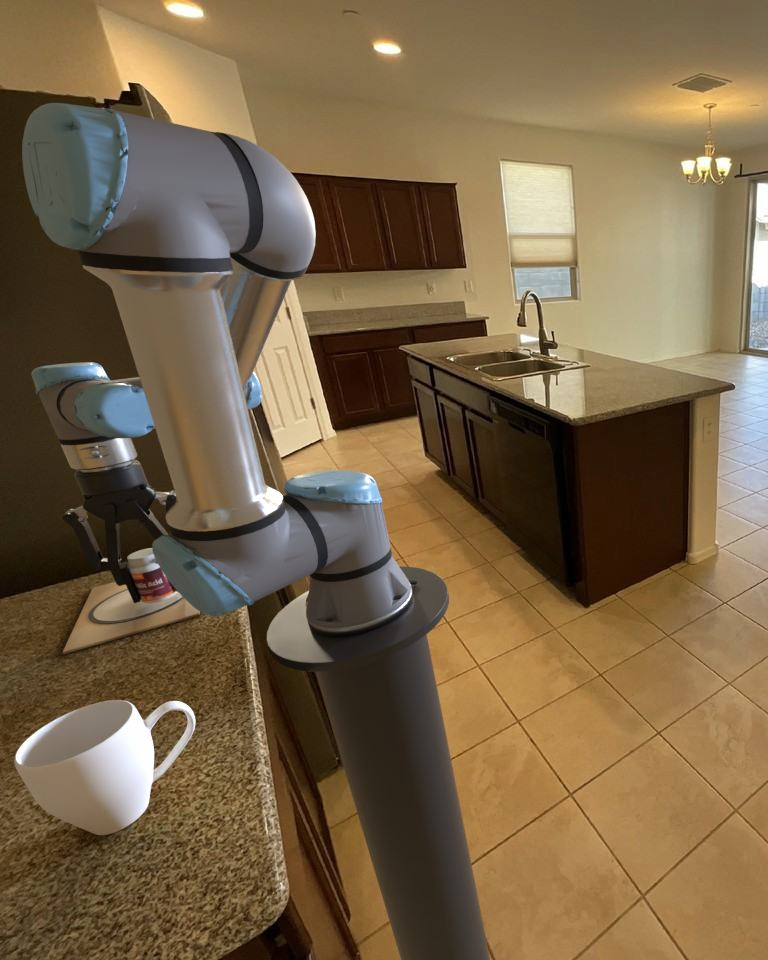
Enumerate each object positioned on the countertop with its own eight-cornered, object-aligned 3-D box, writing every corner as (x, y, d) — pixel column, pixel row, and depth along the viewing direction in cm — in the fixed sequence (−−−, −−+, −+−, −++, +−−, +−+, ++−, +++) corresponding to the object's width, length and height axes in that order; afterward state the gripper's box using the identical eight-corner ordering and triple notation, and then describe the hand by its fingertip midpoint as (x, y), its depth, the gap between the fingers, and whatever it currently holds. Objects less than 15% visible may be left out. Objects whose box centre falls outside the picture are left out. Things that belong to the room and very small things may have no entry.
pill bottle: (137, 607, 86) (117, 563, 83) (149, 593, 90) (130, 550, 87) (173, 600, 88) (155, 556, 85) (182, 586, 92) (166, 544, 89)
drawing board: (205, 561, 103) (204, 559, 102) (199, 615, 86) (198, 612, 86) (93, 589, 94) (92, 586, 94) (63, 654, 77) (61, 651, 77)
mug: (67, 875, 48) (12, 787, 44) (60, 819, 53) (11, 735, 49) (224, 786, 57) (190, 704, 52) (206, 744, 62) (174, 667, 58)
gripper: (15, 484, 73) (82, 623, 81) (178, 458, 83) (223, 585, 91) (31, 471, 79) (92, 602, 87) (182, 448, 88) (224, 567, 97)
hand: (159, 593), depth 89 cm, fingers closed on pill bottle, 5 cm apart
